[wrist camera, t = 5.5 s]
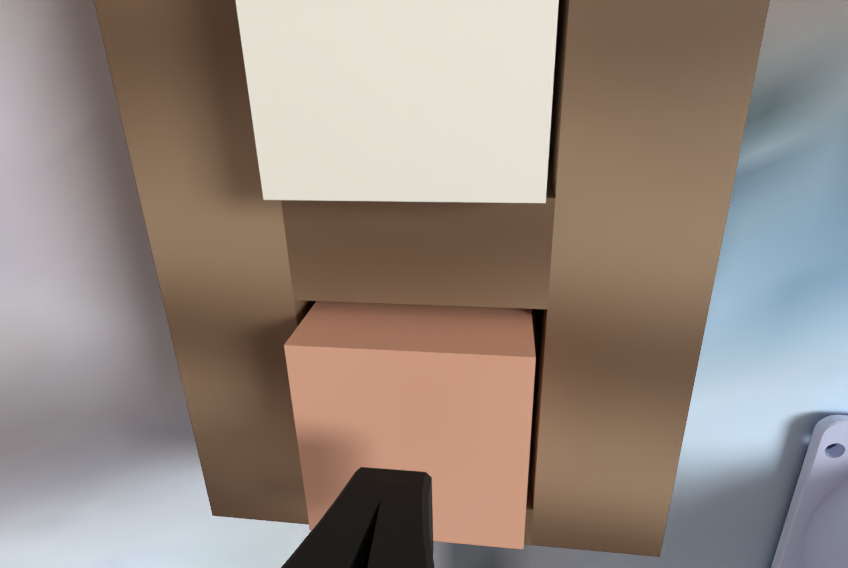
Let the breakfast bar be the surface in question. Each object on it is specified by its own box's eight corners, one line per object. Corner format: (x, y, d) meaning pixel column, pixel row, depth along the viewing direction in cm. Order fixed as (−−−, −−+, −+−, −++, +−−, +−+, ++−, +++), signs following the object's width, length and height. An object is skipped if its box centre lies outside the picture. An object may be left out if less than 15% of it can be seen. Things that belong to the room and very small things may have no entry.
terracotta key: (520, 459, 15) (523, 549, 13) (343, 446, 16) (309, 529, 13) (529, 293, 13) (535, 357, 11) (327, 286, 14) (283, 345, 11)
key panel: (627, 451, 18) (659, 556, 14) (268, 426, 19) (212, 515, 16) (824, -850, 8) (1079, -1566, 5) (85, -687, 10) (-165, -1121, 6)
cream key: (536, 167, 12) (545, 202, 9) (315, 166, 13) (263, 199, 10) (552, -107, 10) (569, -164, 7) (289, -92, 11) (216, -137, 8)
